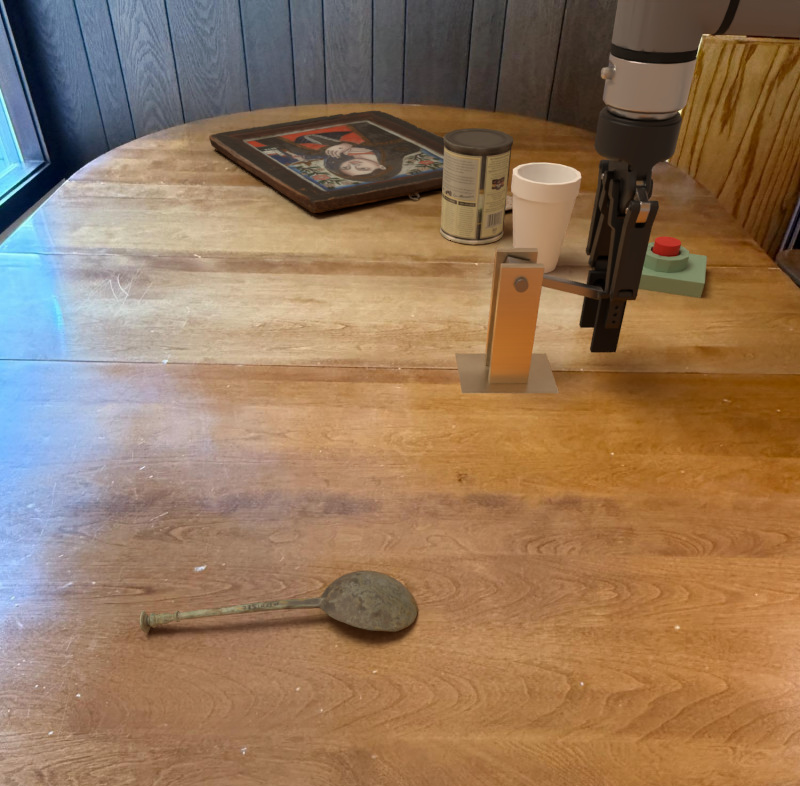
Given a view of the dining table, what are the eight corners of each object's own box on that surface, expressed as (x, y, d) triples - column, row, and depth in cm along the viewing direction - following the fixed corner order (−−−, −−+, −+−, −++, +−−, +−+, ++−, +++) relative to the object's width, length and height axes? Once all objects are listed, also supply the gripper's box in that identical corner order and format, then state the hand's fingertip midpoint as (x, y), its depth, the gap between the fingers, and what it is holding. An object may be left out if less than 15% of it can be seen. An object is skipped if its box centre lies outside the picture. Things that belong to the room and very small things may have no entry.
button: (678, 250, 111) (682, 238, 110) (677, 260, 109) (680, 247, 107) (653, 247, 112) (656, 234, 111) (651, 256, 109) (654, 244, 108)
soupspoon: (422, 644, 62) (411, 588, 67) (424, 614, 60) (414, 558, 65) (137, 659, 59) (148, 599, 64) (129, 628, 57) (142, 569, 62)
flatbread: (469, 211, 131) (469, 205, 130) (474, 196, 136) (474, 190, 136) (517, 215, 130) (518, 209, 129) (520, 200, 135) (521, 194, 135)
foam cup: (550, 284, 110) (564, 189, 102) (492, 269, 114) (501, 176, 105) (575, 261, 116) (591, 170, 108) (519, 247, 120) (530, 158, 111)
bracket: (544, 362, 94) (563, 240, 84) (558, 402, 87) (580, 275, 77) (454, 362, 94) (463, 240, 84) (461, 402, 87) (471, 275, 77)
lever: (601, 296, 86) (610, 275, 85) (611, 316, 83) (621, 296, 81) (498, 271, 84) (505, 250, 83) (504, 292, 80) (512, 270, 79)
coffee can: (453, 216, 129) (458, 124, 120) (511, 227, 126) (522, 133, 117) (428, 238, 122) (433, 141, 113) (490, 249, 119) (499, 151, 110)
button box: (702, 270, 115) (710, 243, 112) (700, 298, 108) (708, 270, 105) (621, 258, 117) (626, 232, 115) (613, 285, 110) (619, 258, 108)
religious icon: (316, 222, 126) (315, 203, 124) (207, 150, 154) (204, 133, 152) (507, 180, 143) (509, 163, 141) (377, 122, 171) (377, 107, 169)
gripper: (581, 85, 78) (549, 302, 94) (625, 137, 65) (580, 380, 80) (655, 85, 78) (611, 302, 94) (714, 137, 65) (651, 379, 80)
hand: (597, 337), depth 87 cm, fingers open, 5 cm apart
